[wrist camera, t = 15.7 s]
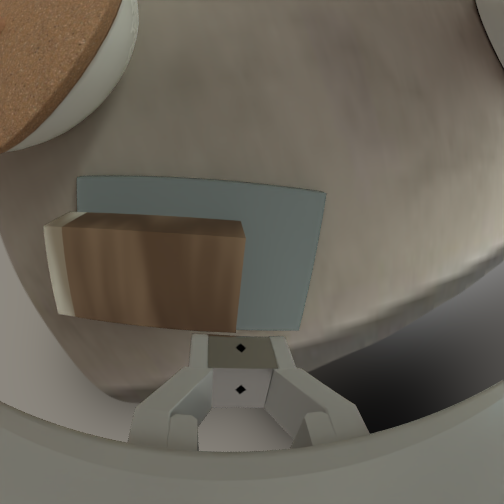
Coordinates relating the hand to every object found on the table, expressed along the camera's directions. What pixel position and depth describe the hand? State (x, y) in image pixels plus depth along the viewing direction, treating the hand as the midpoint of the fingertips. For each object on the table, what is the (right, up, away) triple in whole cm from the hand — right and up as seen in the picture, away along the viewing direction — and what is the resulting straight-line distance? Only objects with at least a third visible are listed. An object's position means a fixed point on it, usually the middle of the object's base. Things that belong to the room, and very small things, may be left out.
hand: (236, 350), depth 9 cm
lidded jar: (-10, +14, +2) cm, 18 cm away
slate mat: (-3, +3, +7) cm, 8 cm away
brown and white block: (0, +2, +5) cm, 6 cm away
